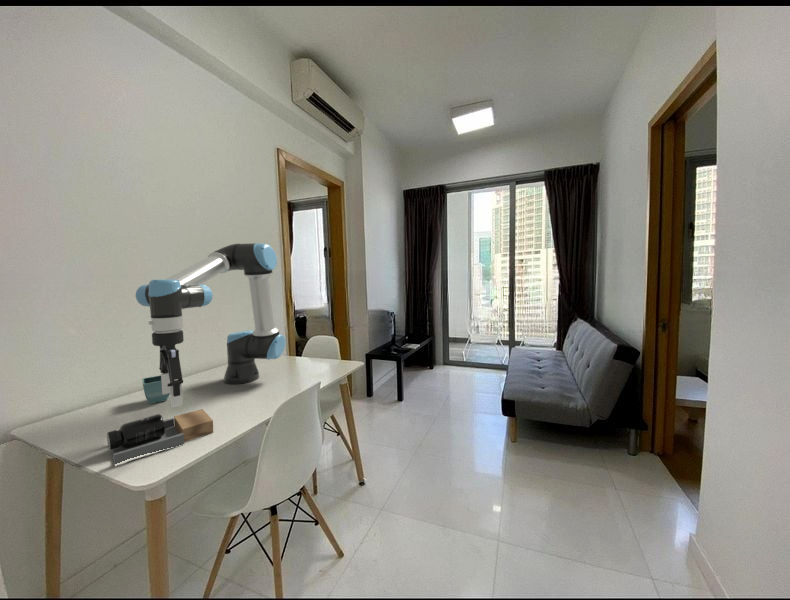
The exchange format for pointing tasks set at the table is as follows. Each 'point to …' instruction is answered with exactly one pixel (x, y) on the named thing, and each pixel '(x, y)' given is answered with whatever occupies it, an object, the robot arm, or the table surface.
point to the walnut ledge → (193, 424)
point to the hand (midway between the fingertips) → (172, 399)
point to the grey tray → (151, 444)
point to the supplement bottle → (136, 432)
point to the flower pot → (154, 389)
